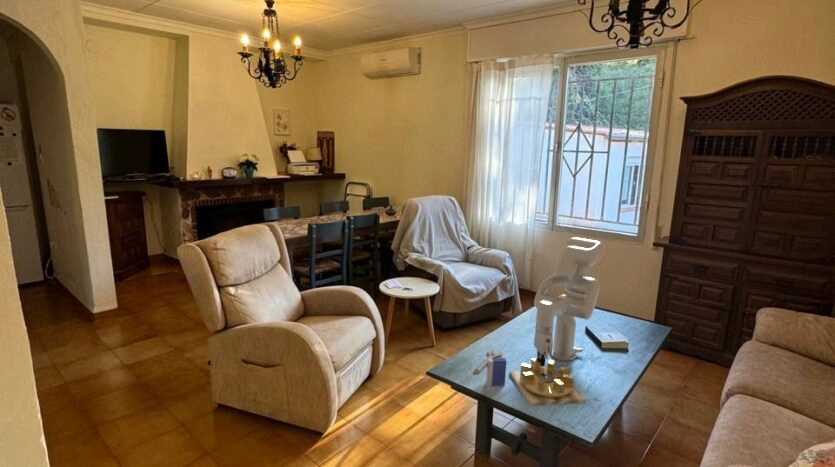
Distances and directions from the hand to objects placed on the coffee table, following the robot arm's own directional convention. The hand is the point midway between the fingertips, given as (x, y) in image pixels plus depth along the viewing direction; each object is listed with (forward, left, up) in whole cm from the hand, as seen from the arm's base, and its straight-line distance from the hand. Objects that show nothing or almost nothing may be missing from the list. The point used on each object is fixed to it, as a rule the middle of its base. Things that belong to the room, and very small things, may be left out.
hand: (540, 365), depth 199 cm
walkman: (+22, +5, -5) cm, 24 cm away
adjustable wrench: (+21, -15, -6) cm, 26 cm away
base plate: (+1, +10, -5) cm, 11 cm away
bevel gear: (+2, +10, -3) cm, 10 cm away
